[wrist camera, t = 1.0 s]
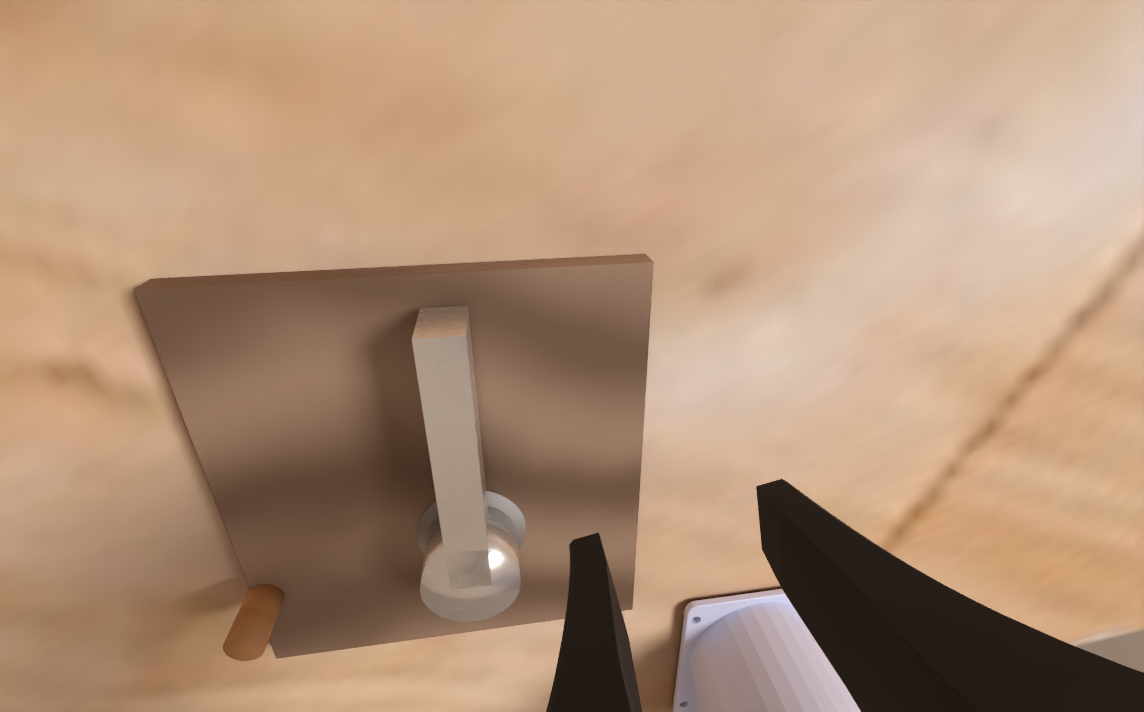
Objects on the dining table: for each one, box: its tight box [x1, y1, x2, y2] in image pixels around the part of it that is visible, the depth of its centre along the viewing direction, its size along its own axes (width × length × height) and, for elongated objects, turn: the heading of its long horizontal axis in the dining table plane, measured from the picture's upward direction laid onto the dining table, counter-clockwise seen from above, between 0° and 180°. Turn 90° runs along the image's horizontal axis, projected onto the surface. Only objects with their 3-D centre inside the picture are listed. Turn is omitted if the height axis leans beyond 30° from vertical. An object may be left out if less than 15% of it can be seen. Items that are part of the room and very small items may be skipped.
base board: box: [133, 254, 653, 661], centre depth 20 cm, size 17×16×3 cm
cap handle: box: [412, 306, 521, 622], centre depth 19 cm, size 12×4×2 cm, turn 0°
